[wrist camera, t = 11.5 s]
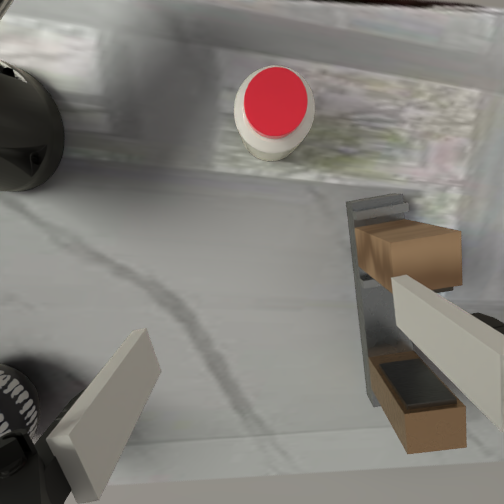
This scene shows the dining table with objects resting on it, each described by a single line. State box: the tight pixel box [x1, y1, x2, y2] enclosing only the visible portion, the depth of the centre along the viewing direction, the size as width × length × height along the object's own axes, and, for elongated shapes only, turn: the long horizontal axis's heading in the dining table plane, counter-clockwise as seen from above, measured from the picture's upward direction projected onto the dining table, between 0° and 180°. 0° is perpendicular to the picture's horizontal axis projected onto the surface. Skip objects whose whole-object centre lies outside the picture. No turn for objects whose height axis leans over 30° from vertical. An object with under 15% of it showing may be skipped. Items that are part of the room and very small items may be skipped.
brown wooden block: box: [355, 219, 462, 294], centre depth 30 cm, size 6×6×10 cm
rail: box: [346, 194, 467, 454], centre depth 33 cm, size 29×6×12 cm, turn 10°
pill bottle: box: [234, 65, 315, 161], centre depth 30 cm, size 8×8×11 cm
